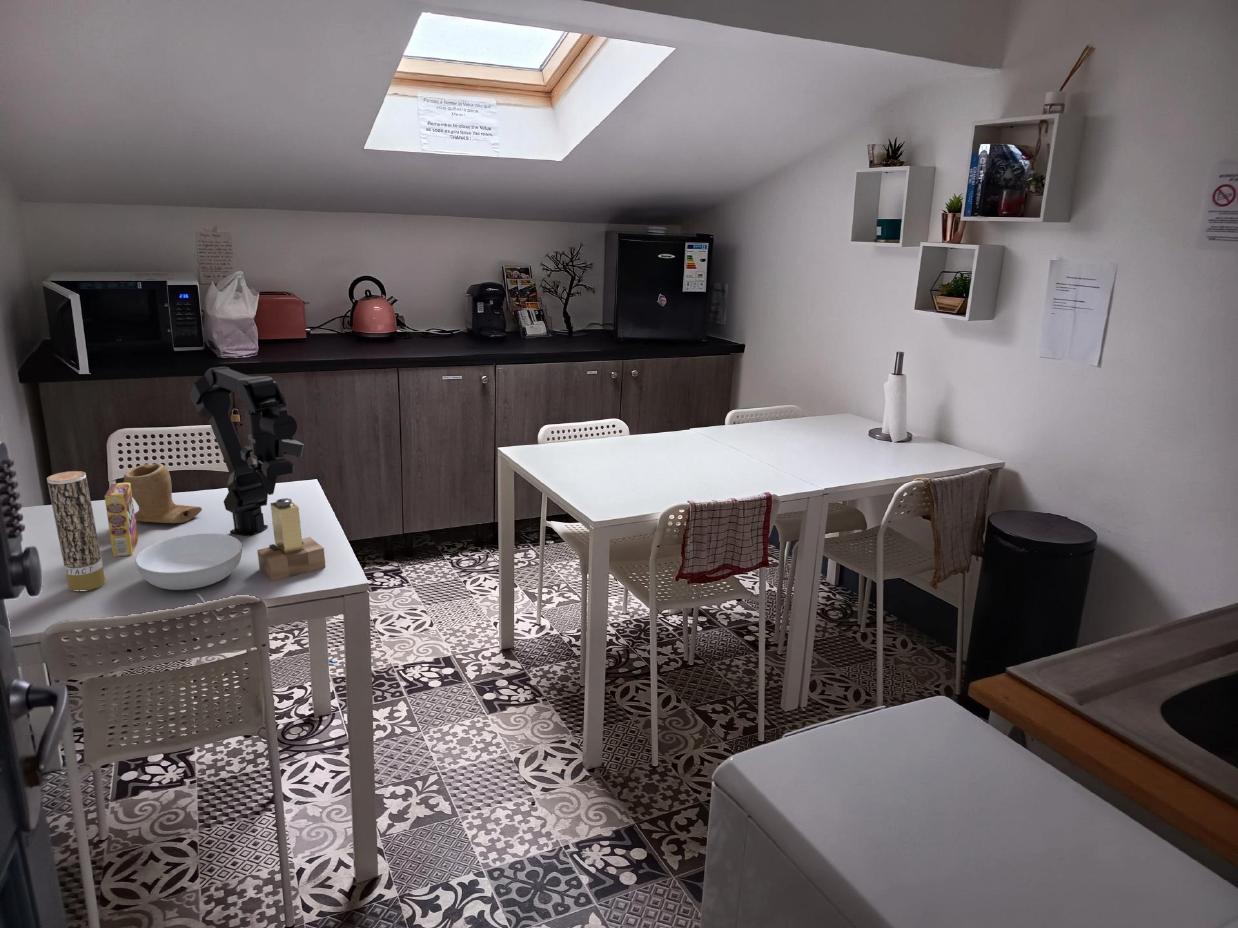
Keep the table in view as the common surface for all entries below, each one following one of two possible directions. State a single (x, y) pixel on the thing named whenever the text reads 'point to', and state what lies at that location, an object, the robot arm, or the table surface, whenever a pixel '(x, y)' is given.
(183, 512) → the tan ankle boot
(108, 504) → the candy box
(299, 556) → the walnut housing
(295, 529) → the brass post
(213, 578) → the serving bowl
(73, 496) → the paper tube
